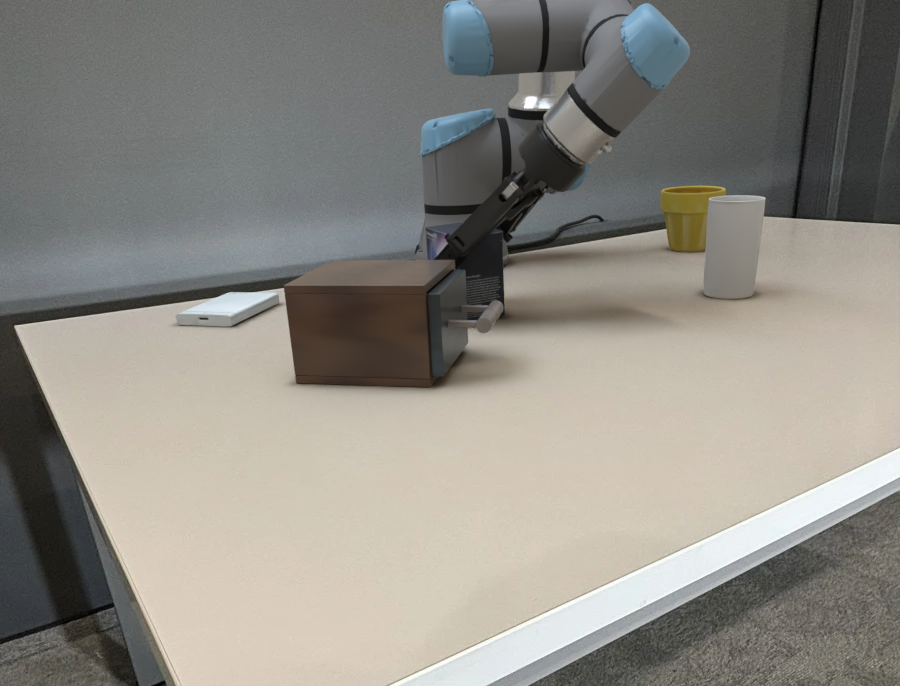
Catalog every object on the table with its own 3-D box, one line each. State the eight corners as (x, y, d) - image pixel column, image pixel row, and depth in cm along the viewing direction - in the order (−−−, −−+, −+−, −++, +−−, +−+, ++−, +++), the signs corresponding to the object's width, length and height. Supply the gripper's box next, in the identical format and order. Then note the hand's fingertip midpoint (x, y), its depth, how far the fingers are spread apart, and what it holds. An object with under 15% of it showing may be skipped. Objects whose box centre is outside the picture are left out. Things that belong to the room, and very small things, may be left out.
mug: (749, 301, 99) (759, 201, 95) (694, 297, 103) (702, 201, 98) (765, 285, 107) (775, 192, 102) (714, 282, 111) (722, 192, 106)
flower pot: (683, 256, 129) (688, 193, 125) (645, 248, 138) (648, 189, 134) (734, 249, 133) (740, 188, 129) (693, 241, 142) (697, 184, 138)
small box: (426, 307, 105) (421, 225, 101) (471, 300, 107) (468, 220, 103) (459, 324, 96) (455, 235, 92) (507, 316, 98) (505, 229, 94)
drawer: (507, 343, 84) (506, 269, 81) (488, 377, 74) (486, 294, 70) (357, 341, 87) (350, 269, 84) (319, 373, 77) (309, 293, 74)
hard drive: (226, 291, 112) (174, 312, 101) (278, 292, 110) (230, 314, 99) (228, 303, 113) (176, 325, 102) (280, 304, 111) (232, 326, 100)
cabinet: (458, 349, 86) (455, 259, 82) (430, 387, 75) (424, 285, 71) (340, 347, 89) (331, 260, 85) (295, 383, 78) (283, 285, 74)
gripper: (558, 178, 79) (426, 322, 91) (610, 160, 99) (496, 280, 111) (507, 122, 79) (381, 274, 91) (569, 115, 99) (459, 240, 110)
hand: (444, 277), depth 101 cm, fingers closed on small box, 11 cm apart
